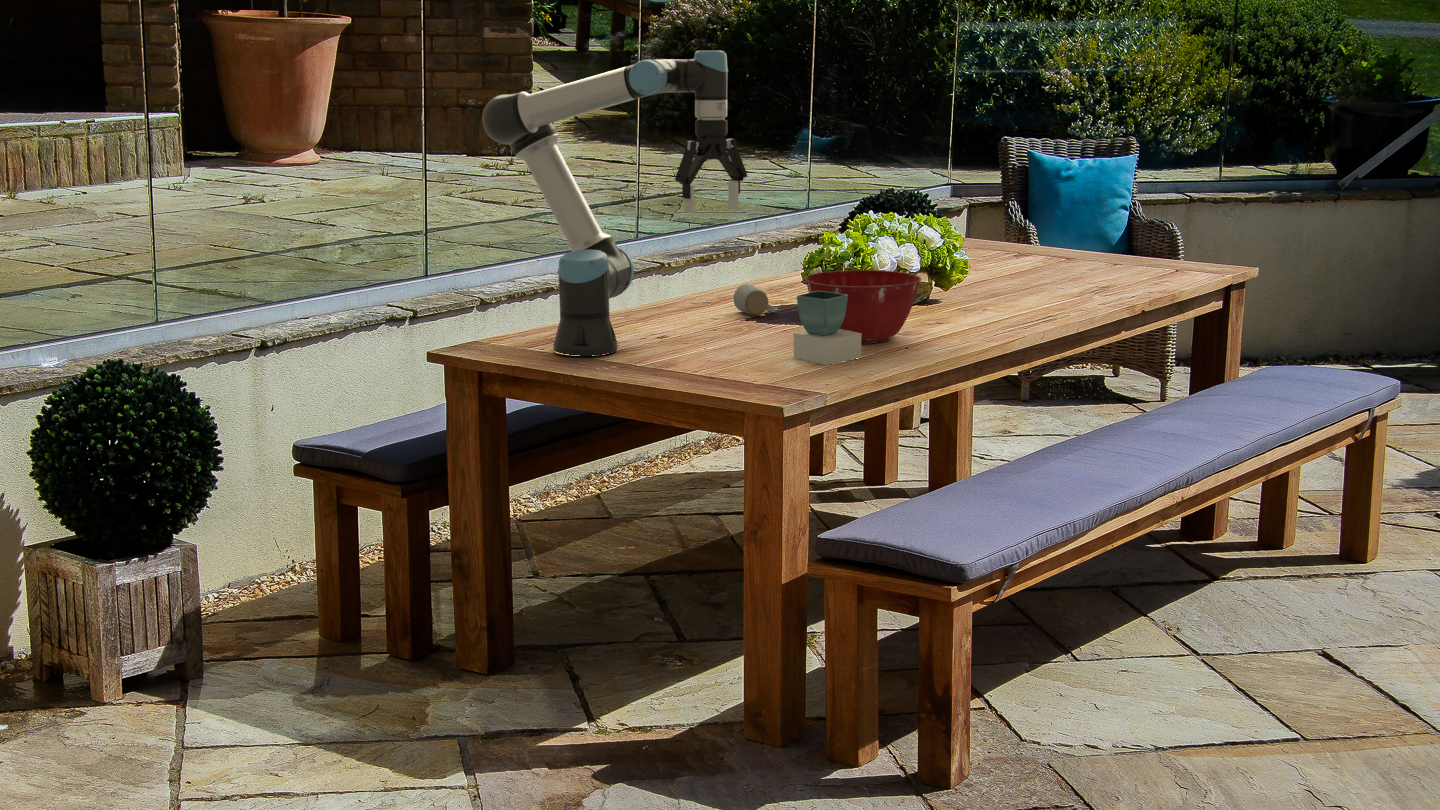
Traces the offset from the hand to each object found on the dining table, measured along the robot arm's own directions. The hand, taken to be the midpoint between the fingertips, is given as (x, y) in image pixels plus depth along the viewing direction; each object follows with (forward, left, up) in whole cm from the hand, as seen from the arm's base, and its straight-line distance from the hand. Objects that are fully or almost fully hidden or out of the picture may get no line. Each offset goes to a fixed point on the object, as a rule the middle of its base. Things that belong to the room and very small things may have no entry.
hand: (711, 210), depth 341 cm
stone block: (+11, -28, -33) cm, 44 cm away
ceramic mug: (+39, +27, -33) cm, 57 cm away
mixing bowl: (+34, -17, -33) cm, 50 cm away
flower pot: (+10, -28, -27) cm, 40 cm away
